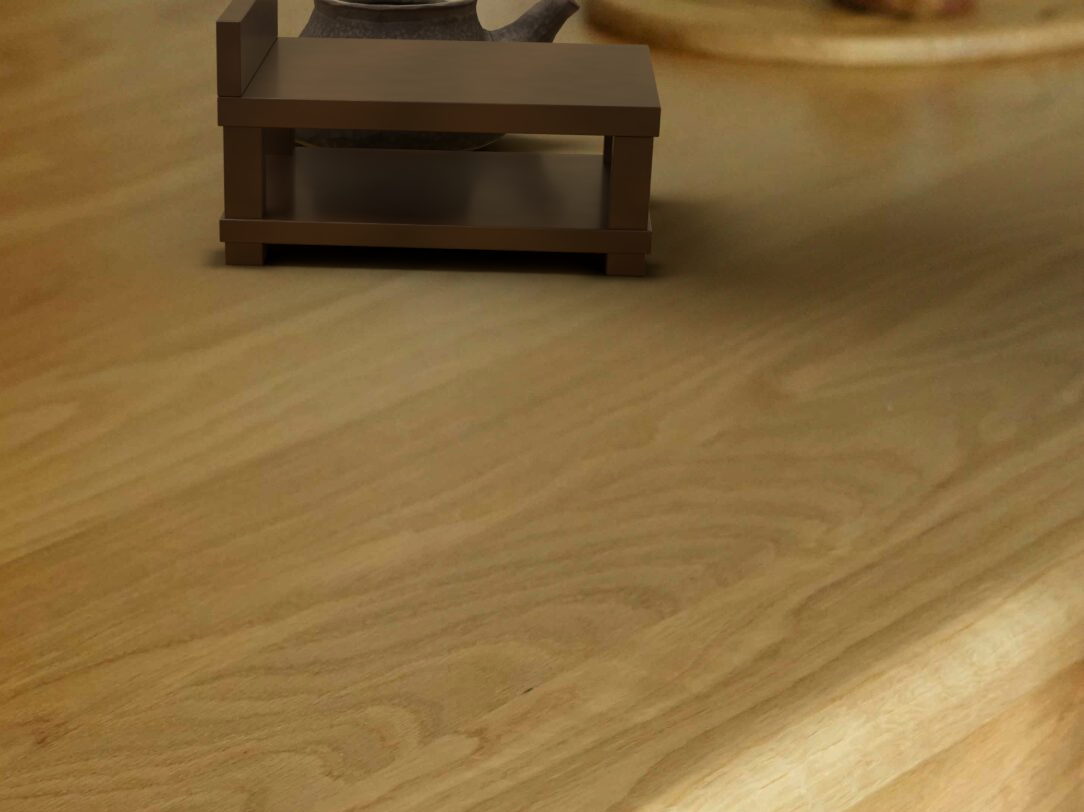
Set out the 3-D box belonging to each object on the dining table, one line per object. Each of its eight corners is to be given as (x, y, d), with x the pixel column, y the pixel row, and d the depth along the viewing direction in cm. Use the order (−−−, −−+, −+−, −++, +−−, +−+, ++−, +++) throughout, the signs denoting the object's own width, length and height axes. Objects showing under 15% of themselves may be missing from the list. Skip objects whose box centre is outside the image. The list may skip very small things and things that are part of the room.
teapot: (585, 175, 111) (597, -40, 107) (269, 173, 111) (267, -42, 107) (549, 97, 128) (558, -91, 123) (274, 96, 128) (273, -93, 123)
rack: (638, 198, 107) (653, -24, 103) (649, 278, 95) (666, 30, 90) (257, 187, 109) (255, -32, 104) (219, 266, 96) (215, 20, 92)
